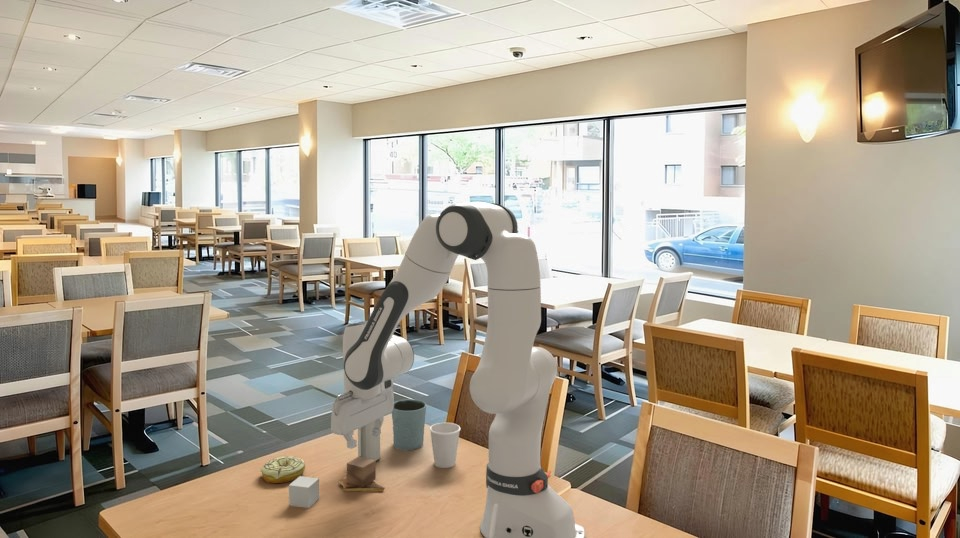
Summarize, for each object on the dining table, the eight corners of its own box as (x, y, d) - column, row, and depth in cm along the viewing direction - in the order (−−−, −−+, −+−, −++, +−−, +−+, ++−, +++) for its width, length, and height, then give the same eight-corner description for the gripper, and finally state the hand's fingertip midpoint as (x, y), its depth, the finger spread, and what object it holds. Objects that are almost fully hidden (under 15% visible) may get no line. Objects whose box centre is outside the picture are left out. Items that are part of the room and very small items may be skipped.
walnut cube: (375, 479, 160) (375, 460, 159) (362, 487, 155) (362, 467, 155) (359, 474, 162) (359, 456, 162) (346, 482, 158) (346, 463, 157)
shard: (385, 493, 156) (385, 486, 156) (358, 504, 151) (358, 496, 150) (361, 479, 164) (361, 472, 164) (334, 488, 159) (334, 481, 158)
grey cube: (319, 498, 152) (318, 478, 151) (308, 508, 147) (308, 487, 146) (300, 496, 153) (299, 476, 152) (289, 505, 148) (288, 485, 148)
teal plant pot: (413, 435, 192) (413, 397, 191) (433, 445, 185) (433, 405, 183) (384, 443, 186) (384, 403, 185) (403, 454, 178) (403, 412, 177)
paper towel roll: (373, 452, 180) (372, 377, 177) (384, 459, 175) (384, 382, 173) (350, 458, 175) (349, 382, 173) (360, 465, 170) (360, 387, 168)
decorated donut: (252, 477, 163) (252, 463, 163) (288, 464, 172) (287, 450, 171) (277, 489, 157) (277, 474, 156) (313, 474, 165) (312, 460, 165)
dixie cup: (423, 461, 174) (423, 425, 172) (450, 455, 178) (450, 420, 177) (439, 472, 167) (439, 435, 166) (466, 465, 171) (466, 429, 170)
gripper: (344, 399, 146) (346, 457, 147) (397, 377, 164) (399, 430, 165) (323, 395, 149) (325, 453, 150) (377, 375, 167) (379, 426, 168)
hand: (364, 441), depth 158 cm, fingers open, 8 cm apart
